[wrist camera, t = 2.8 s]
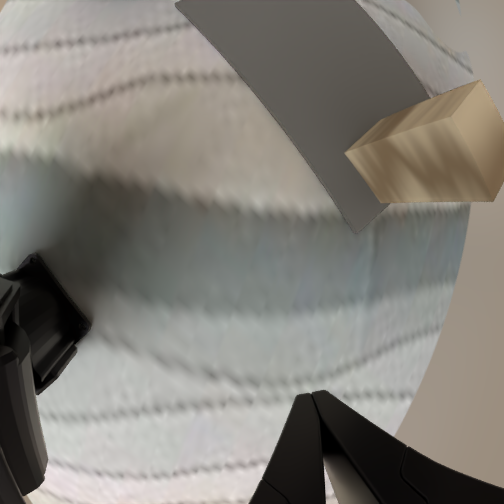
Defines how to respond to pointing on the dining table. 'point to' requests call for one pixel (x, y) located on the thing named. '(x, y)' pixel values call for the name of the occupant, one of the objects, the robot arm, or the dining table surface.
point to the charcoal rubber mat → (315, 80)
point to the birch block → (435, 150)
